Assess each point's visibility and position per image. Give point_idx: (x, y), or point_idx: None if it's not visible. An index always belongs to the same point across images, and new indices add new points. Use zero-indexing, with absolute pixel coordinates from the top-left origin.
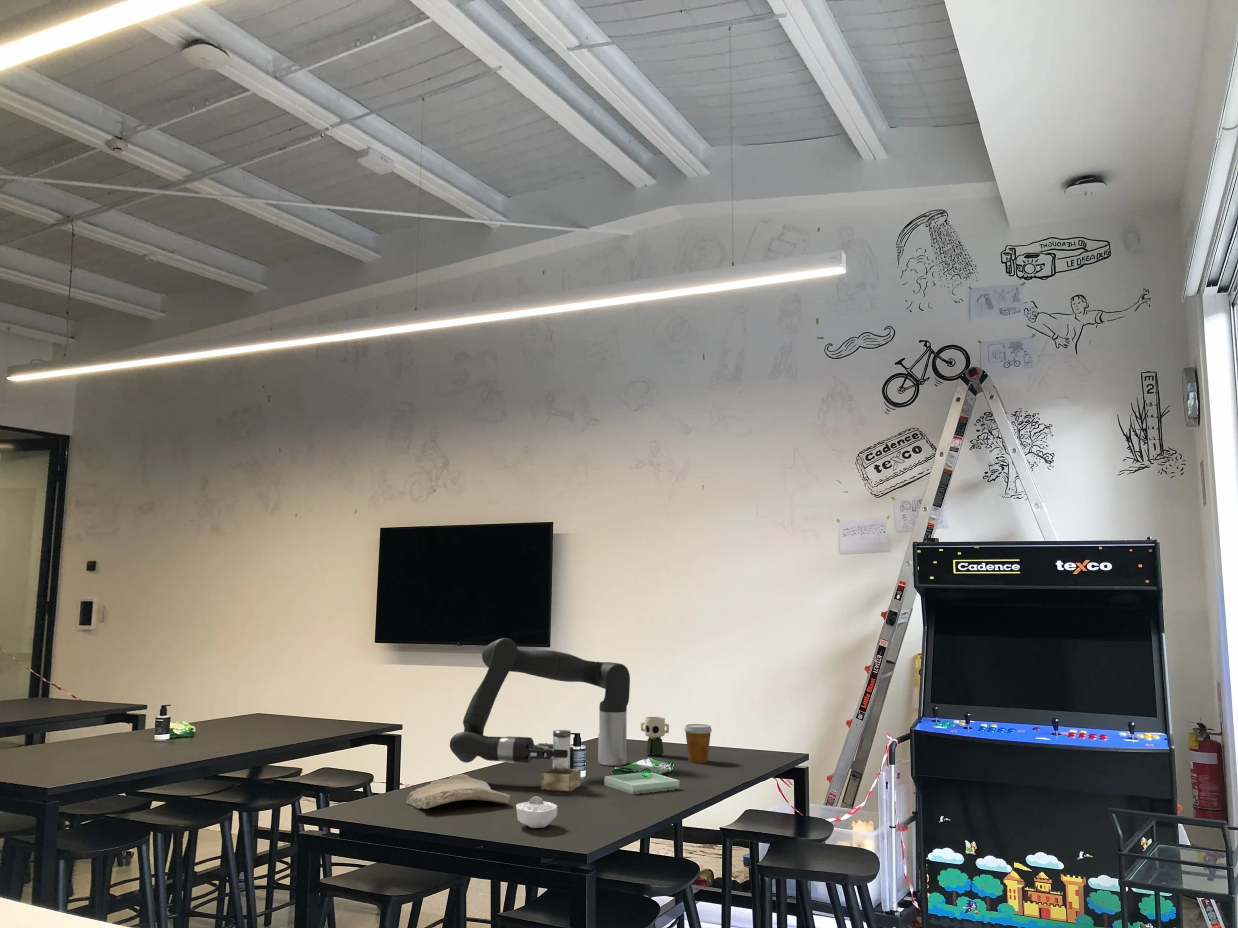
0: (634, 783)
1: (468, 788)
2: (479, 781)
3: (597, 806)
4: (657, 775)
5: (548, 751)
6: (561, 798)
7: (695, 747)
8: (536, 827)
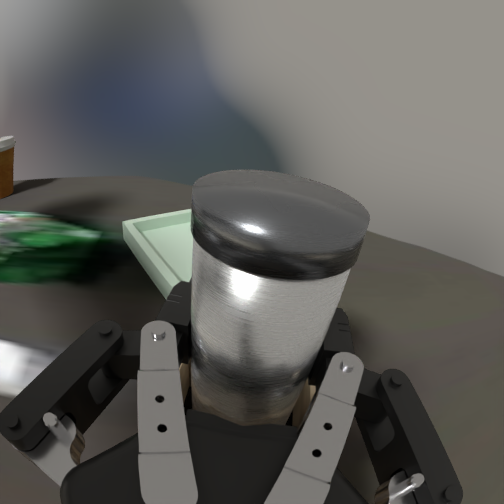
0: None
1: None
2: None
3: (438, 315)
4: (166, 217)
5: (404, 384)
6: (420, 397)
7: (6, 172)
8: None
